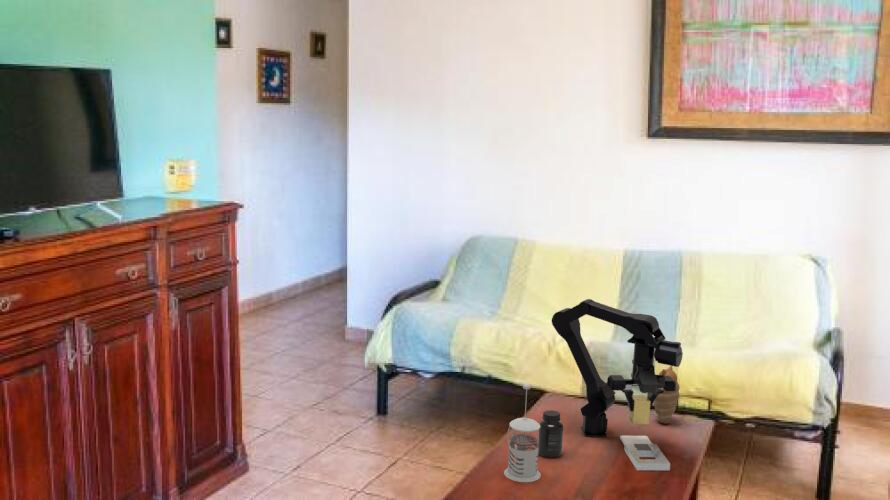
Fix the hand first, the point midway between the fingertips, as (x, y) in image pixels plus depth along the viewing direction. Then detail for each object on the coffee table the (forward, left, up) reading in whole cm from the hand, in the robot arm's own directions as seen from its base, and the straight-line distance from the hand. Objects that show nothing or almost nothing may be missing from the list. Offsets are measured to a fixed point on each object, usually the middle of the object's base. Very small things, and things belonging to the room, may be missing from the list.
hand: (639, 411), depth 240 cm
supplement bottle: (-27, -7, -10) cm, 30 cm away
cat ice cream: (+13, +16, -10) cm, 23 cm away
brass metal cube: (0, 0, -3) cm, 3 cm away
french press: (-37, -19, -10) cm, 43 cm away
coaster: (0, 0, -10) cm, 10 cm away
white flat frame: (0, -11, -10) cm, 15 cm away
